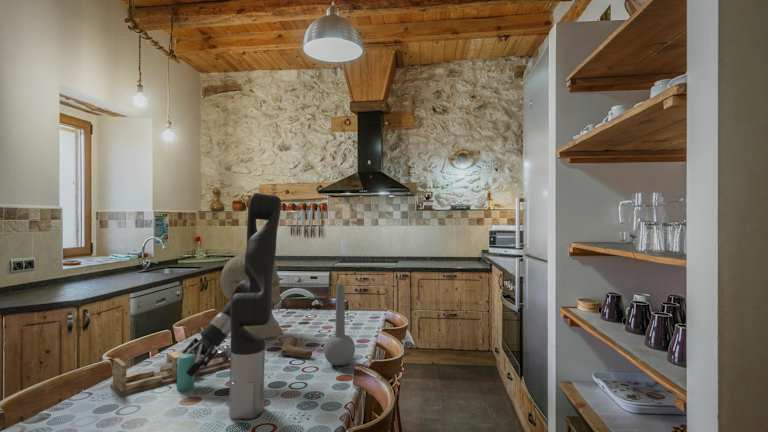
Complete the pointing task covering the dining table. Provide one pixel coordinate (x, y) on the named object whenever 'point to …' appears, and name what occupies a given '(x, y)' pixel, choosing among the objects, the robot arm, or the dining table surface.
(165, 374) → the rig
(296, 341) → the pipe
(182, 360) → the cylinder
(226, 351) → the shaft
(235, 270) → the bust
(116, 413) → the dining table surface
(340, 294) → the grey ball with stem
